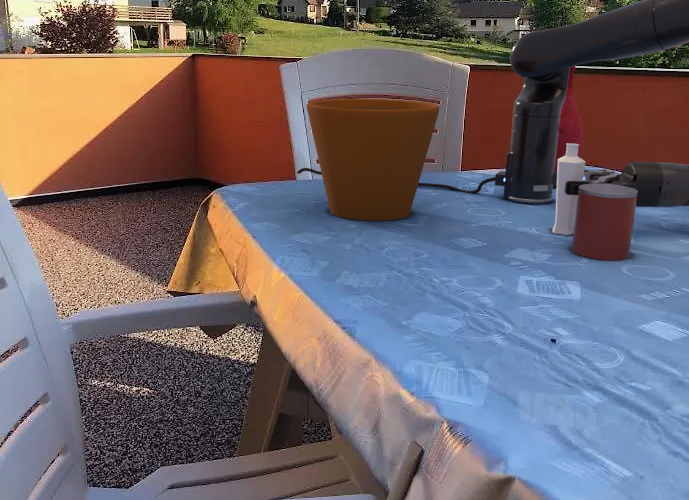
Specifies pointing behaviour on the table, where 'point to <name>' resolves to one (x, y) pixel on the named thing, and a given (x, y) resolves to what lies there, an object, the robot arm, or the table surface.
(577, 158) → the perfume bottle
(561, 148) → the wine bottle
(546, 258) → the table surface
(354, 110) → the flower pot
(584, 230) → the tin can
